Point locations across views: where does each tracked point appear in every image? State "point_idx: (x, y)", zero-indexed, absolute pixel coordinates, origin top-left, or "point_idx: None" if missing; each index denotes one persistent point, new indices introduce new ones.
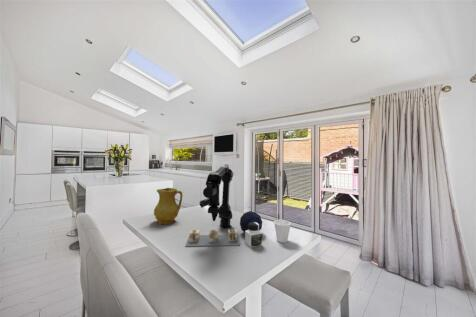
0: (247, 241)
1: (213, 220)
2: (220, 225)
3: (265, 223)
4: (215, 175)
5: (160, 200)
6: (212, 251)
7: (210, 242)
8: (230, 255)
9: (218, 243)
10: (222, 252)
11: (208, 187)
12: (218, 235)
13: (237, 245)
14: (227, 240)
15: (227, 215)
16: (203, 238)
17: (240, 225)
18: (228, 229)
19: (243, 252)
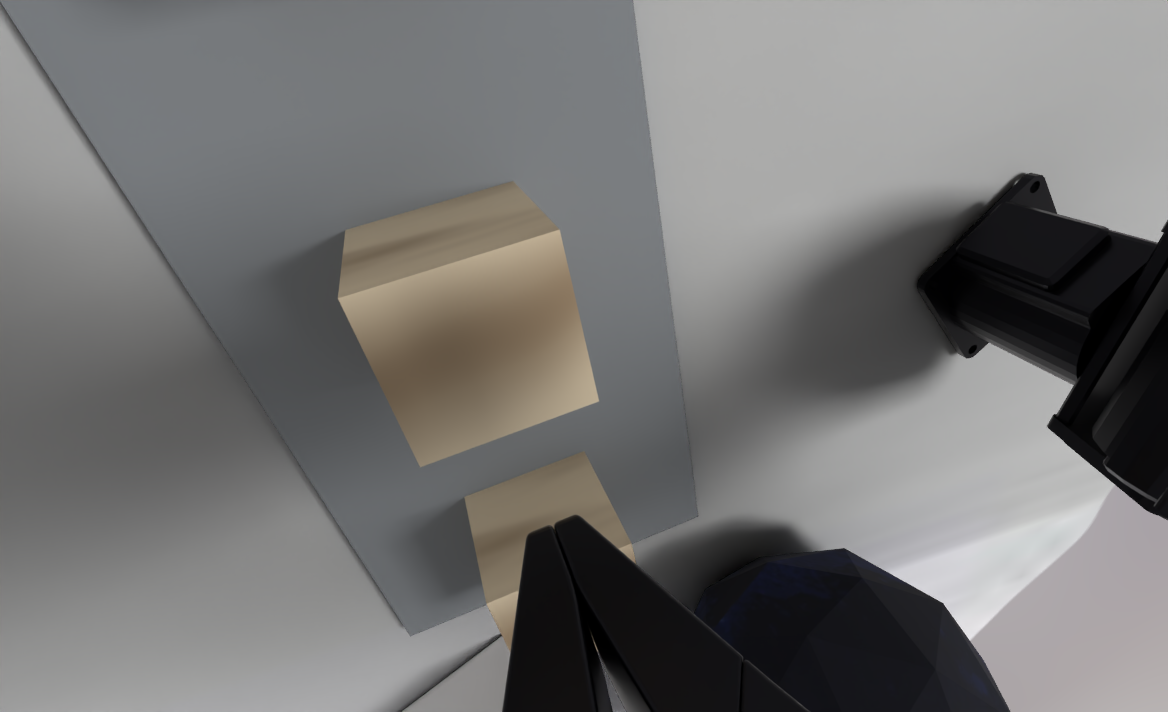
0: (460, 707)
1: (532, 562)
2: (1005, 210)
3: (967, 605)
4: None
5: None
6: (28, 407)
7: (322, 270)
8: (75, 646)
9: (340, 407)
10: (98, 541)
11: None
12: (644, 299)
13: (397, 609)
14: (489, 479)
15: (1113, 449)
16: (459, 55)
17: (787, 619)
18: (630, 549)
19: (249, 706)
